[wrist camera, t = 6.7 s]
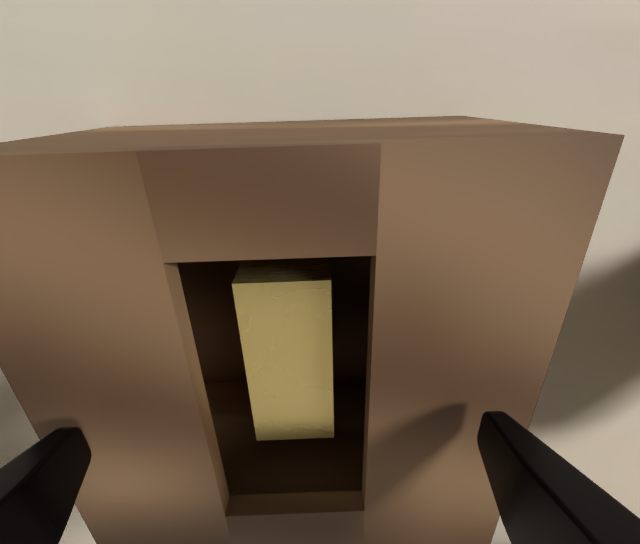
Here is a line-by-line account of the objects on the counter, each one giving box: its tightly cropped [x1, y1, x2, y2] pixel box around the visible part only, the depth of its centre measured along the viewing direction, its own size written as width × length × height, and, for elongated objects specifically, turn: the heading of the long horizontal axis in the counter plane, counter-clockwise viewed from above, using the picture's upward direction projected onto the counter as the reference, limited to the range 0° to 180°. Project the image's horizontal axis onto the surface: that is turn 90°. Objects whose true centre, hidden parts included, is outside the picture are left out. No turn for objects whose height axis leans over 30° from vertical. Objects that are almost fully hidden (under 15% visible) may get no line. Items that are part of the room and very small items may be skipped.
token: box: [232, 257, 334, 441], centre depth 12 cm, size 6×2×5 cm, turn 2°
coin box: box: [0, 116, 625, 544], centre depth 12 cm, size 12×12×7 cm
